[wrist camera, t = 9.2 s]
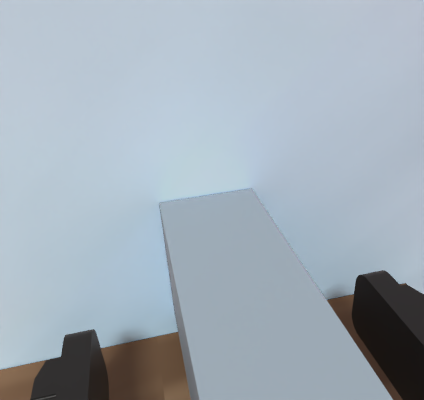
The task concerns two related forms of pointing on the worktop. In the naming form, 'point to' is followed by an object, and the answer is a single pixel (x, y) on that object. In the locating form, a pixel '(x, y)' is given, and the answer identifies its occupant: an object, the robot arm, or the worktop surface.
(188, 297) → the grey tall rectangular block
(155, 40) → the worktop surface
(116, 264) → the worktop surface
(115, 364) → the wooden u-shaped brace
